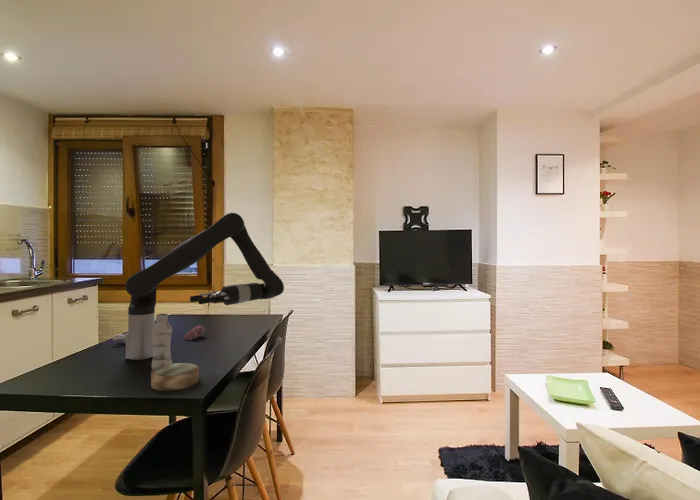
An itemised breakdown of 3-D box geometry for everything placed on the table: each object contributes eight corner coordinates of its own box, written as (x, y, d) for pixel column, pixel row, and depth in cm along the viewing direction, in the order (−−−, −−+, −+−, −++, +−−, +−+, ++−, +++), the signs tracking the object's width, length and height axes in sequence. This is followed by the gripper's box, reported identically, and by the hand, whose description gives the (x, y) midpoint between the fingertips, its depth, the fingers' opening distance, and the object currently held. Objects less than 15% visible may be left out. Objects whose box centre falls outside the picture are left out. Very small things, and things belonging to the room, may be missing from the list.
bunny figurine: (149, 336, 173) (111, 333, 169) (147, 347, 172) (110, 345, 169) (154, 331, 182) (119, 329, 178) (153, 342, 182) (117, 340, 178)
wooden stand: (142, 390, 118) (142, 375, 118) (162, 375, 132) (162, 362, 132) (189, 390, 118) (189, 375, 118) (204, 375, 132) (204, 362, 132)
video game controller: (190, 343, 181) (196, 330, 181) (182, 339, 182) (188, 326, 182) (202, 339, 191) (208, 326, 190) (194, 334, 192) (200, 322, 191)
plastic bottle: (158, 376, 131) (158, 316, 131) (147, 372, 135) (147, 315, 134) (176, 371, 136) (176, 314, 136) (164, 368, 140) (164, 312, 140)
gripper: (227, 283, 159) (187, 288, 148) (243, 285, 148) (200, 291, 137) (229, 302, 159) (188, 308, 148) (244, 305, 148) (202, 312, 138)
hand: (194, 300), depth 143 cm, fingers open, 8 cm apart
